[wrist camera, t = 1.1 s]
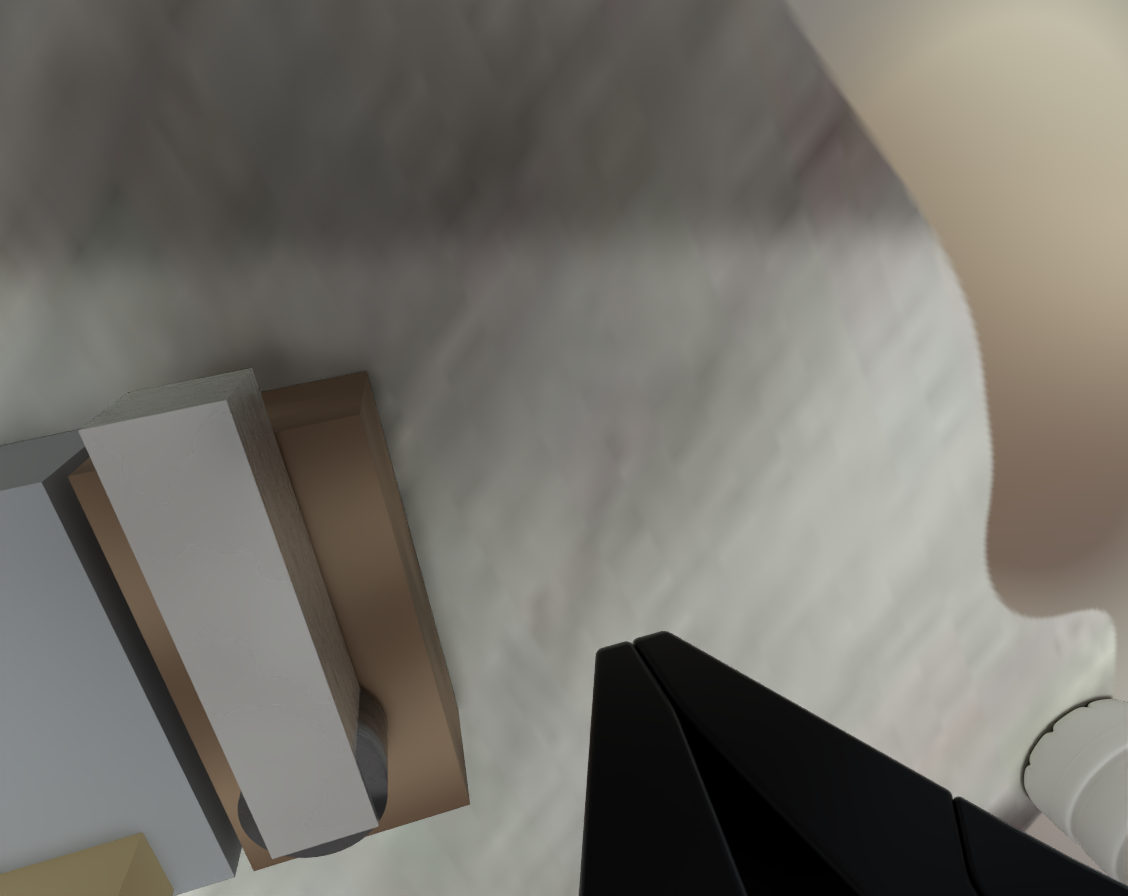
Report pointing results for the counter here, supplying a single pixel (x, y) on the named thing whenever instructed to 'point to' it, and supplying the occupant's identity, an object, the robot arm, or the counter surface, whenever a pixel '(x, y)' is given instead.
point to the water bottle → (1087, 781)
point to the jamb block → (331, 598)
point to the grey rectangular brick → (88, 712)
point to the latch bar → (246, 607)
